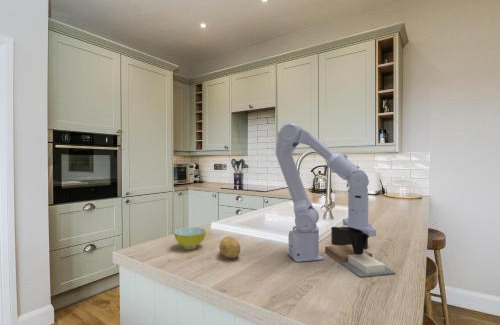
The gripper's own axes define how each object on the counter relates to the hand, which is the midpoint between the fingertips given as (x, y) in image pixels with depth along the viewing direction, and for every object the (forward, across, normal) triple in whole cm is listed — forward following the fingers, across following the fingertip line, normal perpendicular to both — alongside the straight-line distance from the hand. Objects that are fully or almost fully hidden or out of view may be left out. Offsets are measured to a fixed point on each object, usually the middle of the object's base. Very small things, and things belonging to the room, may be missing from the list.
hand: (358, 253), depth 83 cm
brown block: (+3, +6, 0) cm, 7 cm away
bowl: (+3, +26, +51) cm, 58 cm away
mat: (+3, -4, 0) cm, 5 cm away
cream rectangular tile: (+2, -4, 0) cm, 4 cm away
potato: (+3, +14, +38) cm, 41 cm away
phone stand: (0, +15, -13) cm, 20 cm away
